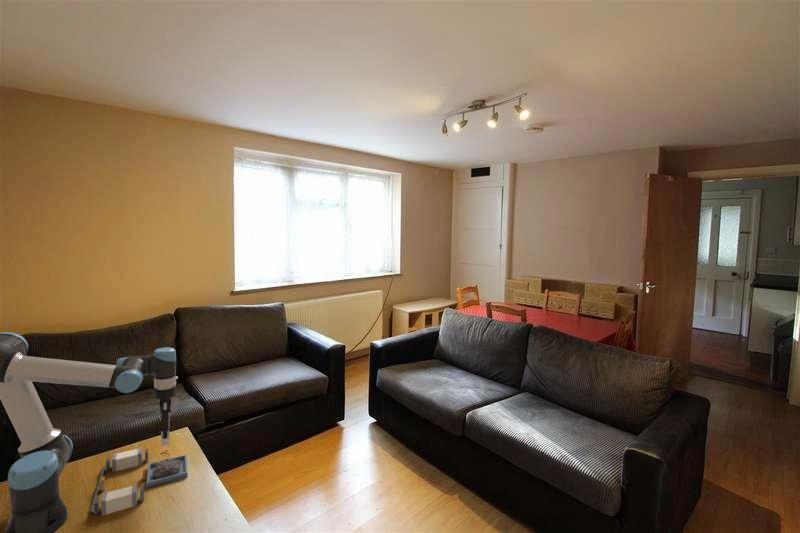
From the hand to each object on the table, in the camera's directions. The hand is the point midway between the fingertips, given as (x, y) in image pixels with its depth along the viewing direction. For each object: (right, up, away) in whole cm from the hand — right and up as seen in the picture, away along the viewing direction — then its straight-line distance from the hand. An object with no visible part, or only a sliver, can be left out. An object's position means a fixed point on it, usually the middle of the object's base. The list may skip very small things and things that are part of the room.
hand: (165, 436), depth 153 cm
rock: (0, -15, +1) cm, 15 cm away
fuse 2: (-6, -17, -17) cm, 25 cm away
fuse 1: (-19, -15, +6) cm, 25 cm away
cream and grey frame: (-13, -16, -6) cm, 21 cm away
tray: (0, -16, +2) cm, 16 cm away
